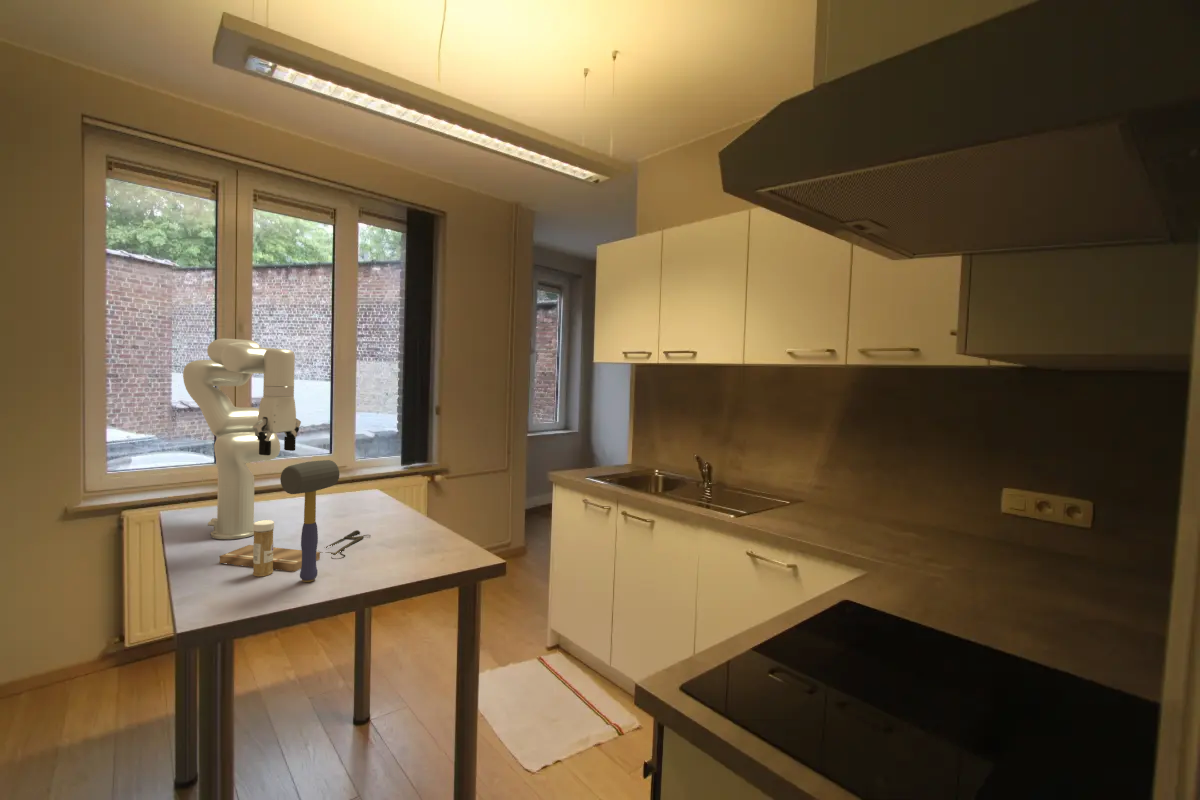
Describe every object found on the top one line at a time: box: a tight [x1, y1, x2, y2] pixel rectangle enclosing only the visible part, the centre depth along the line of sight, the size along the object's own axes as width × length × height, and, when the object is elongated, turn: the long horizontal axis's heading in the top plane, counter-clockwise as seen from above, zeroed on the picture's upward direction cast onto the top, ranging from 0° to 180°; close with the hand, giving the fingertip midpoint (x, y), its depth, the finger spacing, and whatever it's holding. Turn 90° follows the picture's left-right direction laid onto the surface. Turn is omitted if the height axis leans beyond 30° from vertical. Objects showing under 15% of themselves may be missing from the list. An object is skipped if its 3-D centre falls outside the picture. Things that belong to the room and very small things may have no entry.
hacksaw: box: [319, 530, 372, 560], centre depth 167 cm, size 24×10×2 cm, turn 172°
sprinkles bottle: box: [252, 519, 275, 578], centre depth 141 cm, size 5×5×13 cm
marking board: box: [219, 544, 321, 572], centre depth 151 cm, size 22×10×2 cm, turn 81°
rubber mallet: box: [280, 459, 340, 583], centre depth 138 cm, size 12×8×30 cm, turn 159°
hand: (277, 452), depth 158 cm, fingers open, 9 cm apart
